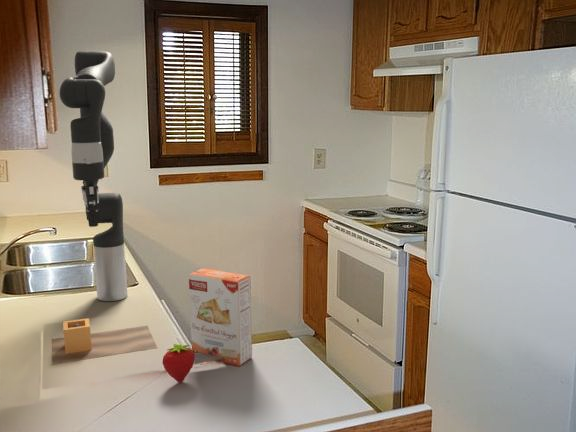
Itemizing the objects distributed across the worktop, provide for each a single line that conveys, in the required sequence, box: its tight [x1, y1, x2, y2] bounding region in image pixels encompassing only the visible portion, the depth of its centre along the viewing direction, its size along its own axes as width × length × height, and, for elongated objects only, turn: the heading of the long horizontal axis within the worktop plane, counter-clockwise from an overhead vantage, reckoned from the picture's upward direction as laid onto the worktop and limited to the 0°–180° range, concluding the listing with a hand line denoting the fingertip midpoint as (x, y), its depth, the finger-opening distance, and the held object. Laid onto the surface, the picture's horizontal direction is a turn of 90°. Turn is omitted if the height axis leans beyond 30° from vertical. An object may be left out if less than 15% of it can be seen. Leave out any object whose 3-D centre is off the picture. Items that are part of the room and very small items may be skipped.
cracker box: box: [188, 267, 253, 367], centre depth 141 cm, size 14×6×21 cm, turn 62°
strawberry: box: [162, 339, 196, 383], centre depth 130 cm, size 6×8×10 cm
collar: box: [62, 317, 92, 354], centre depth 146 cm, size 6×6×6 cm
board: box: [51, 324, 158, 365], centre depth 148 cm, size 16×24×8 cm, turn 112°
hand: (92, 223), depth 153 cm, fingers open, 8 cm apart
